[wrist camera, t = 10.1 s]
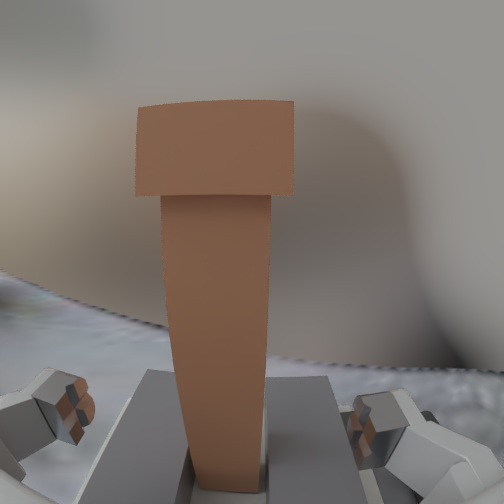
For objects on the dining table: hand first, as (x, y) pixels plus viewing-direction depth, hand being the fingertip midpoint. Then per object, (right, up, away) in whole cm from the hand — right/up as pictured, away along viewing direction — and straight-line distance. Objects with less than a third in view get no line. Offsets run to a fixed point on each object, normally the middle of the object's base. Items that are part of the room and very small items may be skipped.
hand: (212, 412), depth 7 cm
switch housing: (0, -10, -1) cm, 10 cm away
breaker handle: (0, -7, +5) cm, 9 cm away
